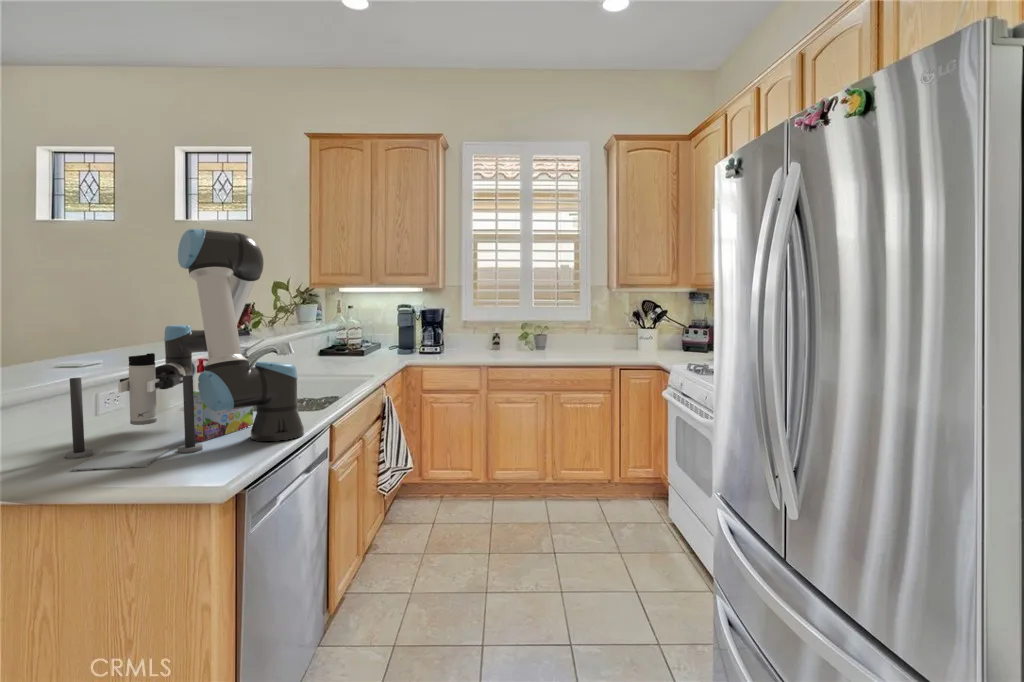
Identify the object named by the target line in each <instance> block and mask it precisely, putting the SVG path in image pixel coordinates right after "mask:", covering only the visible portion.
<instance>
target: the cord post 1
mask: <svg viewBox="0 0 1024 682" xmlns="http://www.w3.org/2000/svg"><path fill="white" fill-rule="evenodd" d="M82 387H83V384H82V377H71V378H69V391H70V393H69V395H70V412H71V432H72V433H71V434H72V435H71V436H72V450H70V451H66V452H64V458H65V457H66V458H65V459H67V458H76V459H78V458H77V457H83V458H85V457H84V456H88V457H90V456H89V455H91V454H93V455H94V449H93V448H86V447H85V429H84V410H83V409H84V408H83V407H84V406H83V391H82V390H83V388H82ZM91 456H92V455H91Z"/></svg>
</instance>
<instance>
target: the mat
mask: <svg viewBox="0 0 1024 682" xmlns="http://www.w3.org/2000/svg"><path fill="white" fill-rule="evenodd" d="M168 450H169V451H170V448H151V449H132V450H131V449H130V450H109V451H107V450H106V451H102V452H101V453H99V454H97V455H95V456H93V457H91V458H89V459H87V460H86V461H84V462H82V463H80V464H78V465H76V466H74V467H73V468H71V469H70V472H78V471H77V470H87V471H94V470H93V469H105V470H112V469H111V468H124V469H131V468H130V467H142V468H146V467H147V466H146V465H148V464H149V463H150V464H152V463H153V462H155V461H156V460H157V458H158V457H159V458H161V457H162V456H163V455H165V454H166V453H168V452H169V451H168ZM167 451H168V452H167ZM165 452H166V453H165ZM164 453H165V454H164ZM162 454H163V455H162ZM161 455H162V456H161ZM160 456H161V457H160ZM159 458H158V459H159ZM155 459H156V460H155ZM154 460H155V461H154ZM152 461H153V462H152ZM151 462H152V463H151ZM150 464H149V465H150ZM149 465H148V466H149ZM145 466H146V467H145ZM91 469H92V470H91Z"/></svg>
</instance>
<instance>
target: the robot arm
mask: <svg viewBox="0 0 1024 682" xmlns="http://www.w3.org/2000/svg"><path fill="white" fill-rule="evenodd" d="M261 250H262V249H261V247H260V246H259V245H258V243H256V241H255V240H254V239H253V238H251V236H248V235H247V234H243V233H241V232H230V231H229V232H228V231H222V230H221V231H220V230H212V229H205V228H189V229H187V230H186V231H184V233H183V234H182V235H181V238H180V240H179V243H178V249H177V260H178V264H179V266H180V268H182V269H184V270H187V269H188V275H189V277H190V278H191V279H192V280H194V281H195V282H196V287H197V288H196V289H197V293H198V294H197V295H198V299H199V306H200V312H201V318H202V324H203V329H199V330H197V329H194V330H193V329H192V328H191V327H192V326H190V325H188V324H174V325H172V324H170V325H167V326H165V329H164V339H163V340H164V355H165V359H164V360H165V363H164V364H161V365H158V366H155V371H156V379H155V380H152V381H149V382H147V392H151V391H154V390H156V391H158V389H159V390H168V389H173V388H174V387H175V386H177V385H180V384H183V376H187V375H192V376H193V378H194V377H195V375H196V372H197V367H196V365H195V363H194V362H193V356H192V355H193V353H205V352H206V353H207V355H208V357H207V358H208V361H207V362H206V363H205V364H204V366H203V369H204V371H201V372H200V374H199V375H198V379H197V381H198V382H197V390H199V393H200V396H201V398H202V400H203V402H204V404H205V405H206V406H207V407H208V408H209V409H211V410H213V411H224V410H226V411H229V410H232V409H238V408H245V407H252V406H253V407H256V414H255V418H254V419H253V426H252V427H251V429H250V440H252V439H253V440H252V441H254V440H257V441H256V442H260V441H276V442H280V441H279V440H285V441H289V440H288V439H291V440H294V439H293V438H295V439H298V438H301V437H303V436H304V435H305V428H304V425H303V422H302V419H301V415H300V414H299V410H298V374H297V371H298V370H297V368H296V367H297V366H295V365H294V364H293V363H287V362H276V361H256V362H255V364H254V366H253V367H250V362H249V359H248V358H246V357H245V356H243V354H242V348H241V343H240V336H239V331H238V323H239V321H240V318H241V316H242V313H243V311H244V309H245V306H246V304H247V301H248V299H249V296H250V294H251V291H252V289H253V286H254V284H255V282H257V281H259V280H260V278H261V275H262V273H263V270H264V264H265V262H264V256H263V252H262V251H261ZM117 387H118V394H120V393H124V392H129V376H127V377H123V378H120V379H119V382H118V383H117ZM297 437H298V438H297Z"/></svg>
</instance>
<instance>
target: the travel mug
mask: <svg viewBox="0 0 1024 682" xmlns="http://www.w3.org/2000/svg"><path fill="white" fill-rule="evenodd" d="M155 368H156V354H155V353H154V352H149V353H146V354H141V355H139V354H138V355H131V356H128V377H129V391H128V395H129V396H128V398H129V421H130V422H129V423H130V425H132V426H133V425H134V426H144V425H151V424H154V423H156V422H157V421H158V420H157V419H158V417H157V390H154V391H151V392H147V382H149V381H152V380H155V379H156V371H155Z"/></svg>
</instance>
